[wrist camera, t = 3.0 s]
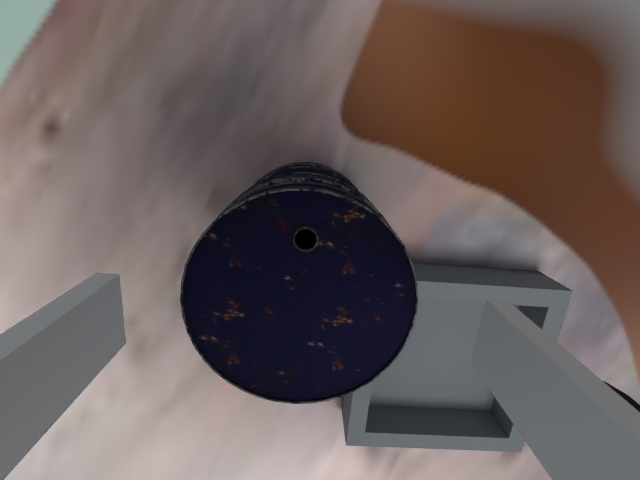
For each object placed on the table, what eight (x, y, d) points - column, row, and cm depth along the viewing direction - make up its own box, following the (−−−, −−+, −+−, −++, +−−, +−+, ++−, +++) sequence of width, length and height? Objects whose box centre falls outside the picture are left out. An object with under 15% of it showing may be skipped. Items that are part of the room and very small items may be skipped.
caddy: (341, 410, 34) (346, 445, 30) (360, 259, 29) (368, 277, 25) (497, 417, 34) (520, 452, 31) (538, 271, 30) (572, 290, 26)
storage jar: (356, 280, 30) (400, 411, 15) (244, 273, 29) (181, 401, 15) (370, 165, 27) (441, 194, 13) (246, 154, 26) (172, 173, 12)
